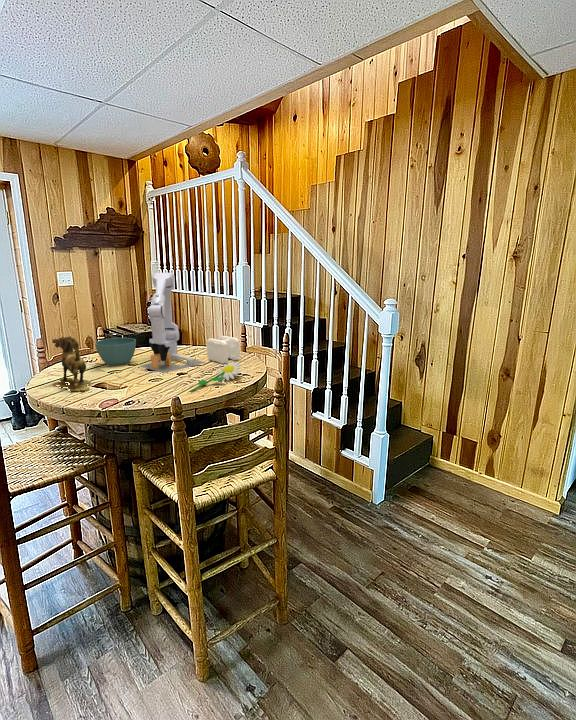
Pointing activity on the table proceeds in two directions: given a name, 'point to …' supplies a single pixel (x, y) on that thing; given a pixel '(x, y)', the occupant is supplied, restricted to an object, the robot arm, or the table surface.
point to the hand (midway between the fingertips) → (161, 359)
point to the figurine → (71, 364)
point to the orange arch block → (157, 358)
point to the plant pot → (116, 350)
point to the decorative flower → (222, 374)
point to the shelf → (174, 357)
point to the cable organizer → (223, 349)
